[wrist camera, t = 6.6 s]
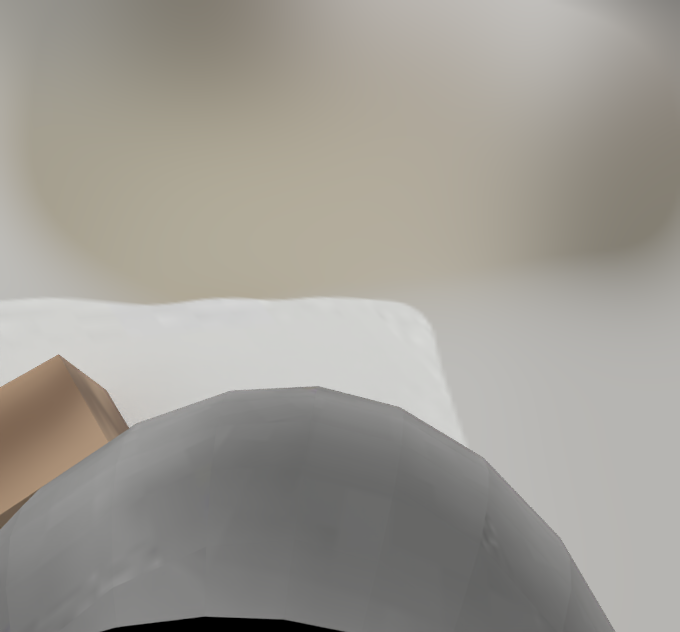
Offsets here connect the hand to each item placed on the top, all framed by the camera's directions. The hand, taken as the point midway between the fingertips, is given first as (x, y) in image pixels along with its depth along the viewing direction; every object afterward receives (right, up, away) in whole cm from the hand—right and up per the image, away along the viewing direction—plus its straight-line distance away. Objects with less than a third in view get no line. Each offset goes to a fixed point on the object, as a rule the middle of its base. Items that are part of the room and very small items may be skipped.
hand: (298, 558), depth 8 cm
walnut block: (-13, -3, +13) cm, 18 cm away
